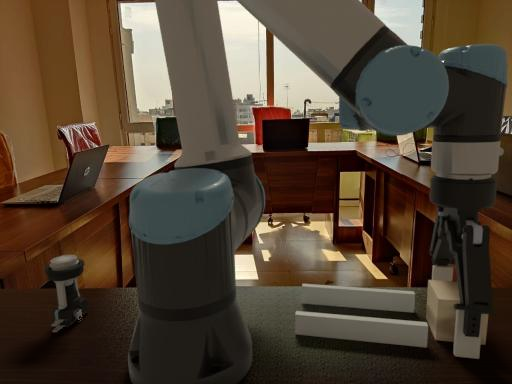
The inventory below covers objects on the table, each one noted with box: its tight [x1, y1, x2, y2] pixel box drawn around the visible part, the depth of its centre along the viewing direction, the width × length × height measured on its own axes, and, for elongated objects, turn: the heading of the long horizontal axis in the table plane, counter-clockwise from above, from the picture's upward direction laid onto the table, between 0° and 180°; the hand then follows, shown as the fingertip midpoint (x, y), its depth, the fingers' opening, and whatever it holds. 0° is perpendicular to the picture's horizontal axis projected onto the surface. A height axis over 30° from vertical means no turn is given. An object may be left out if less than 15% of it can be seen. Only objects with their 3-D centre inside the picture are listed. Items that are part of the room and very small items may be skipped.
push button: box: [43, 254, 89, 333], centre depth 56 cm, size 7×5×10 cm
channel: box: [294, 283, 429, 348], centre depth 55 cm, size 17×10×3 cm, turn 77°
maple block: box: [425, 279, 489, 346], centre depth 52 cm, size 6×6×6 cm
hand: (451, 328), depth 52 cm, fingers open, 12 cm apart
